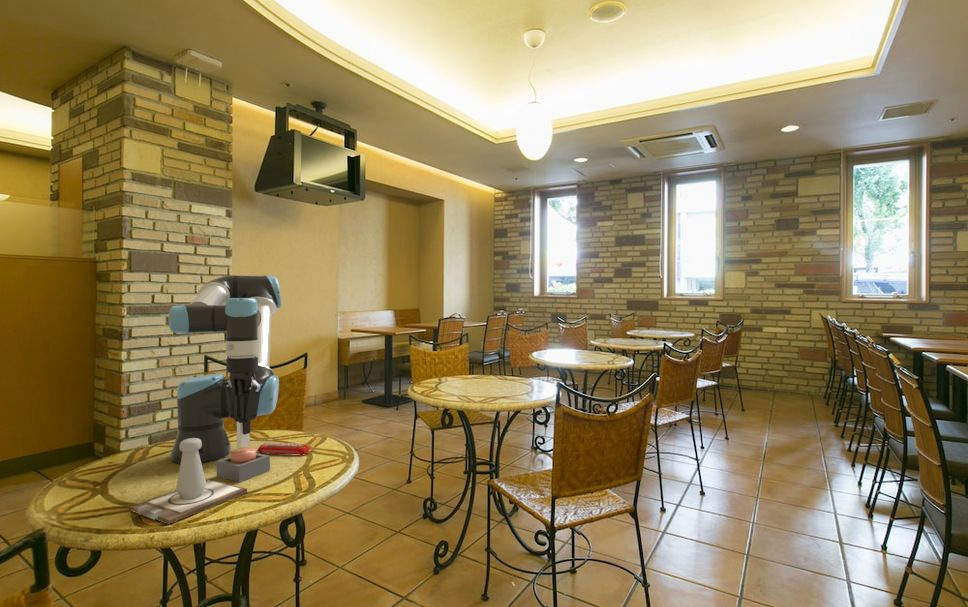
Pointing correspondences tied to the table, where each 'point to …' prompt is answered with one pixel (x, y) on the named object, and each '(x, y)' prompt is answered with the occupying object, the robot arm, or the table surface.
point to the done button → (243, 455)
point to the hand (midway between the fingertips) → (243, 445)
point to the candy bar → (284, 448)
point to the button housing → (243, 468)
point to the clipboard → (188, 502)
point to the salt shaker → (190, 470)
